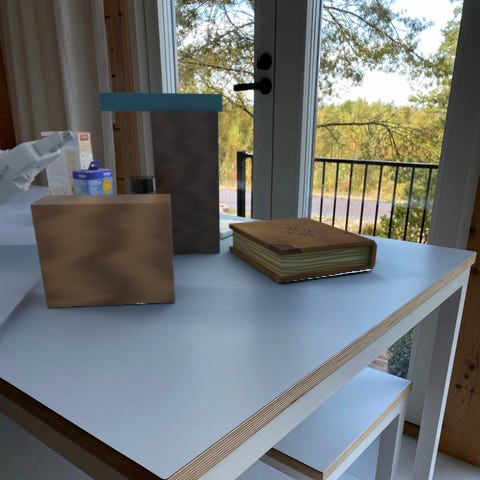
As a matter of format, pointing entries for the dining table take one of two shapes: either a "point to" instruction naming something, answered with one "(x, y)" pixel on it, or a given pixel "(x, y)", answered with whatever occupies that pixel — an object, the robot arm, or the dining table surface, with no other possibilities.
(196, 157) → the stand
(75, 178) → the ink cartridge box
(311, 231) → the diary
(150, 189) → the ink bottle
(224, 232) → the hard drive
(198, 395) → the dining table surface
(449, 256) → the dining table surface
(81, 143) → the cracker box
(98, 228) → the brown wooden block
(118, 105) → the teal bar
